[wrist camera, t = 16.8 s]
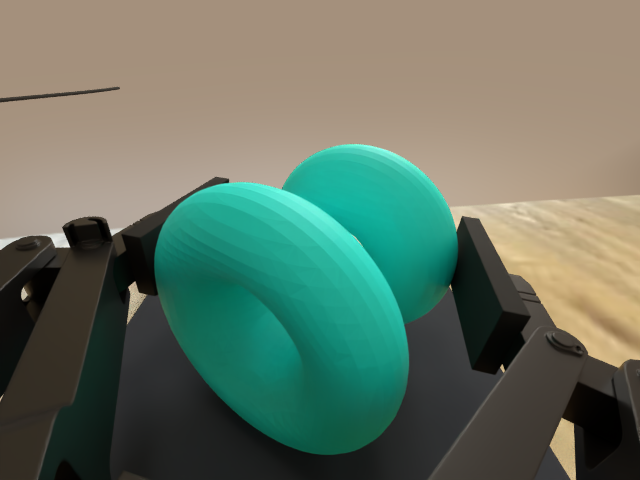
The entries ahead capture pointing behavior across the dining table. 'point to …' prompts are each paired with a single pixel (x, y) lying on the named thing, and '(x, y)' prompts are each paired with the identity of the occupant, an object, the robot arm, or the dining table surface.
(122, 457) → the placemat
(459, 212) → the dining table surface
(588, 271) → the dining table surface
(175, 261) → the donuts
